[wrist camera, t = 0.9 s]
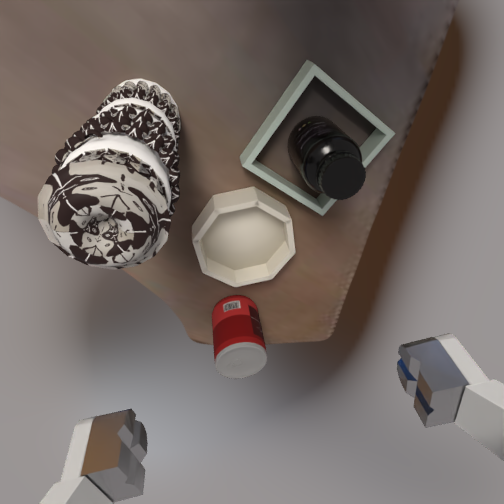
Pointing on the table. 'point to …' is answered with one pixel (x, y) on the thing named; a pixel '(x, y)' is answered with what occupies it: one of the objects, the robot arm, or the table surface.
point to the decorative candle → (116, 180)
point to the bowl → (243, 237)
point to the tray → (278, 114)
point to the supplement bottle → (326, 158)
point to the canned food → (238, 338)
